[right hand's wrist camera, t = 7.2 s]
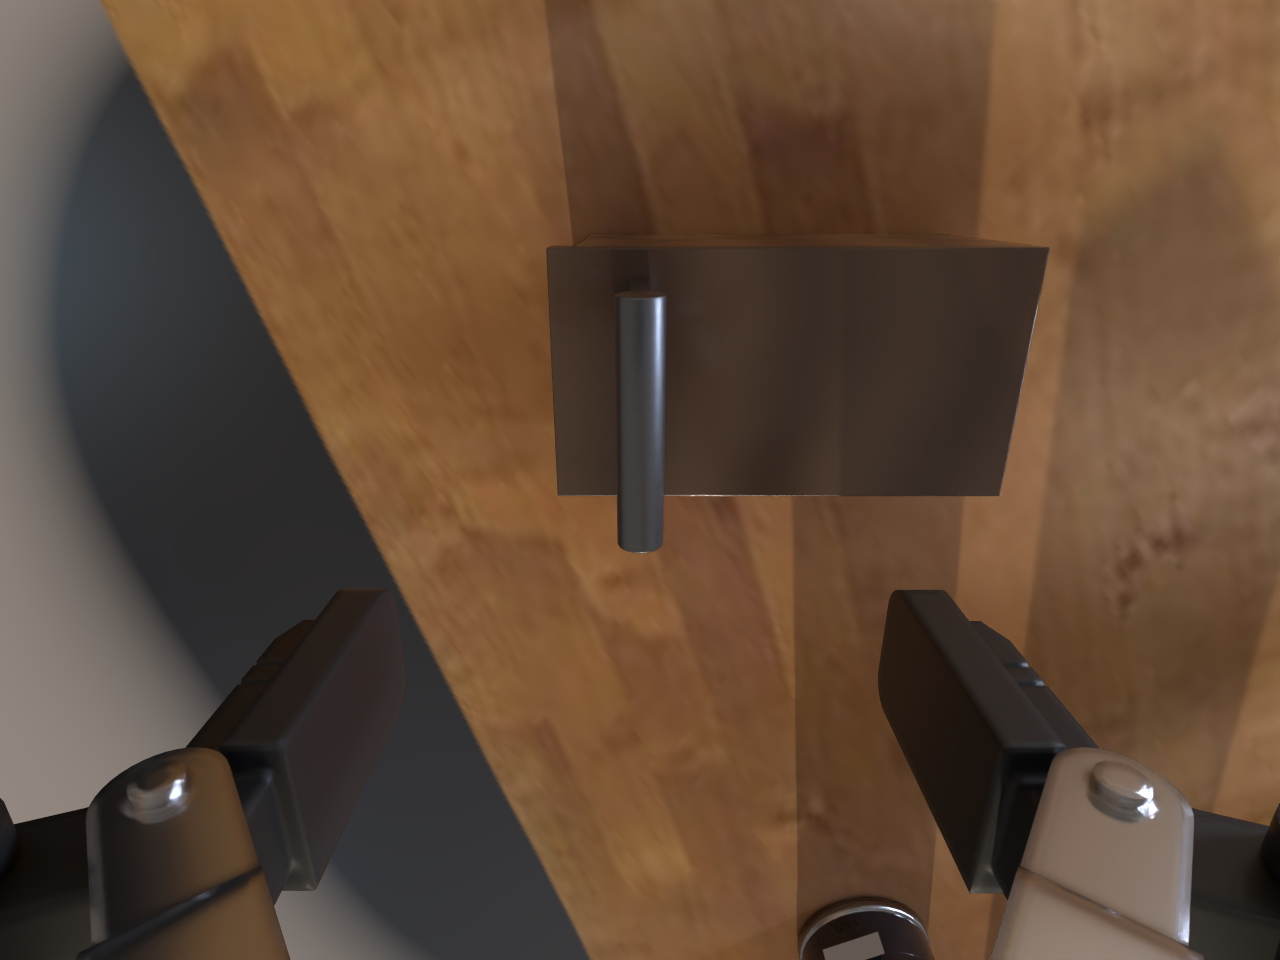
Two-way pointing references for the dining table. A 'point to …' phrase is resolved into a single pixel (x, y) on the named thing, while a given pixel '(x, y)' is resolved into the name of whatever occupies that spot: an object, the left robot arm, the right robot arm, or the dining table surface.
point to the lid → (785, 371)
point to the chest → (787, 240)
